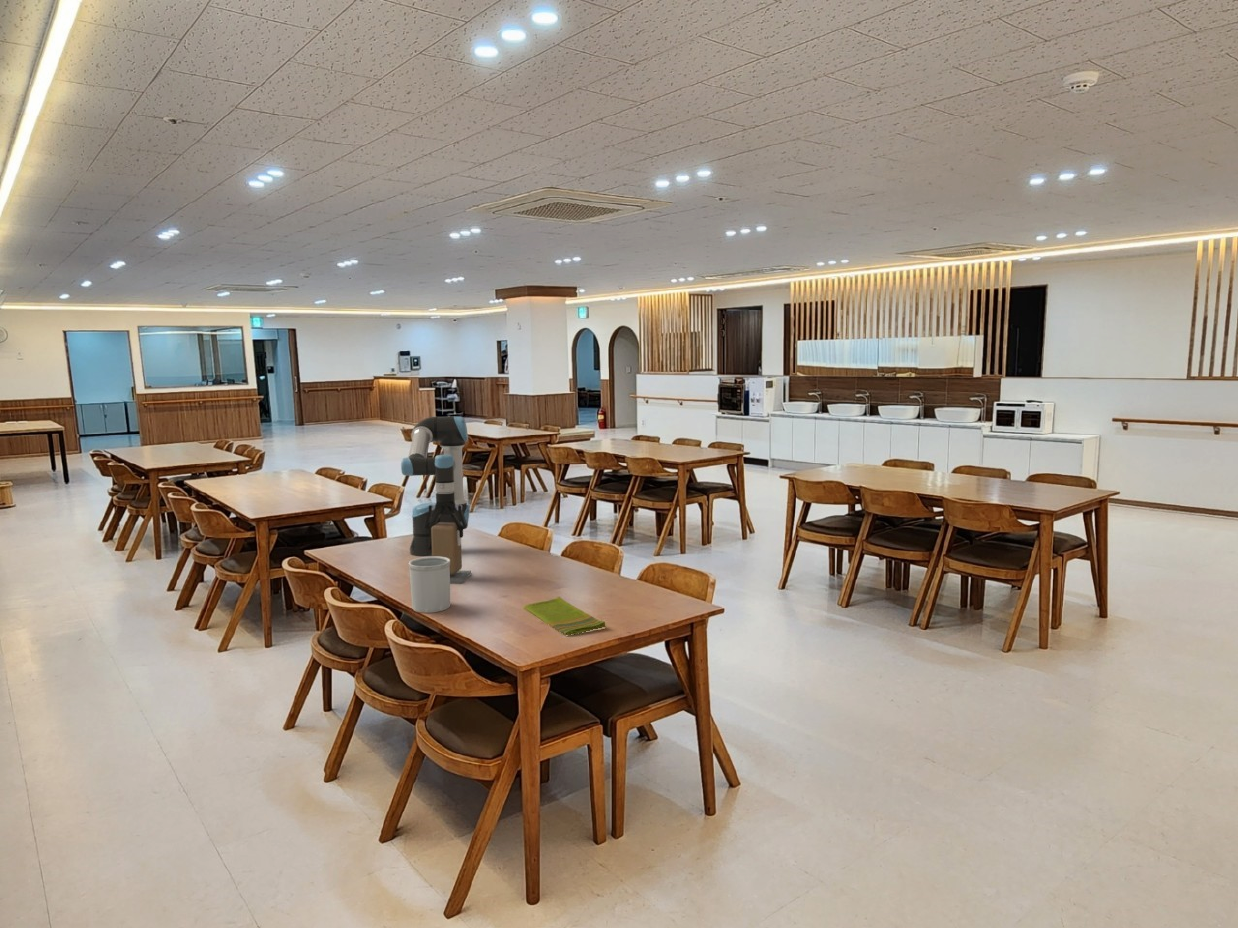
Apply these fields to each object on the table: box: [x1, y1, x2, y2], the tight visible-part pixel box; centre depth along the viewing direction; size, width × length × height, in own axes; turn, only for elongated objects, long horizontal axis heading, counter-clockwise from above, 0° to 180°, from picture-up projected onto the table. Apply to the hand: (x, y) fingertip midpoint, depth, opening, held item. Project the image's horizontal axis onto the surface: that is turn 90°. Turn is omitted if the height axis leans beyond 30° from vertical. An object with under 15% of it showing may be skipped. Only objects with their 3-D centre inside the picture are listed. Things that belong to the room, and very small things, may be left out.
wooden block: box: [431, 522, 463, 574], centre depth 329 cm, size 10×10×20 cm
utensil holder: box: [408, 555, 451, 614], centre depth 290 cm, size 15×15×18 cm
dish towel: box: [523, 596, 607, 636], centre depth 278 cm, size 15×36×3 cm, turn 30°
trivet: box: [450, 570, 472, 585], centre depth 331 cm, size 16×16×1 cm
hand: (446, 544), depth 329 cm, fingers closed on wooden block, 10 cm apart
